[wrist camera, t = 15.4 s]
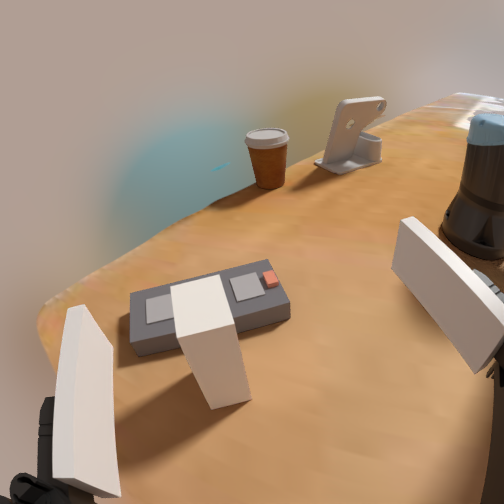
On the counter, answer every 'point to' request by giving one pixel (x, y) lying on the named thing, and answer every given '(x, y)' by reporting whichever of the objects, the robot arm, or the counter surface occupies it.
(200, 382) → the block
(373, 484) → the counter surface
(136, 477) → the counter surface
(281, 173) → the disposable coffee cup
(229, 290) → the power strip
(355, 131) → the phone holder
